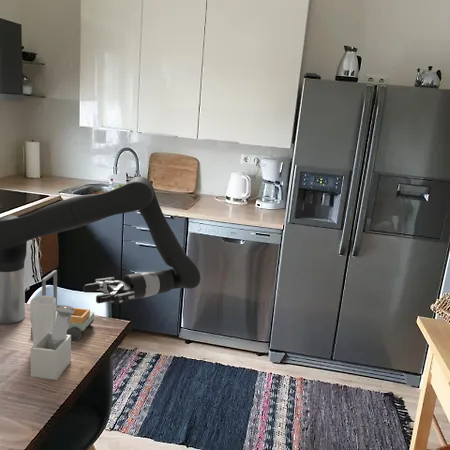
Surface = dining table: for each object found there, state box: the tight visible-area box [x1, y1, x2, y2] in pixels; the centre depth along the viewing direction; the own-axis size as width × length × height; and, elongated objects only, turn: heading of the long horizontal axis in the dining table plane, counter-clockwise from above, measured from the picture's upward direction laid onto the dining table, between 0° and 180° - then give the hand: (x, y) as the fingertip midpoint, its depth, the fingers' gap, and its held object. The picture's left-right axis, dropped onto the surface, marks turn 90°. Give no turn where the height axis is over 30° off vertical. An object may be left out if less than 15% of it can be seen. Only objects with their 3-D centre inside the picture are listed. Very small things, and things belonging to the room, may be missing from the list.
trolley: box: [41, 269, 95, 342], centre depth 142 cm, size 13×11×18 cm
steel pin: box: [49, 304, 76, 350], centre depth 123 cm, size 5×5×15 cm
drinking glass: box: [29, 295, 56, 346], centre depth 131 cm, size 7×7×15 cm
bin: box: [30, 332, 72, 380], centre depth 122 cm, size 7×9×8 cm
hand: (90, 294), depth 130 cm, fingers open, 8 cm apart
